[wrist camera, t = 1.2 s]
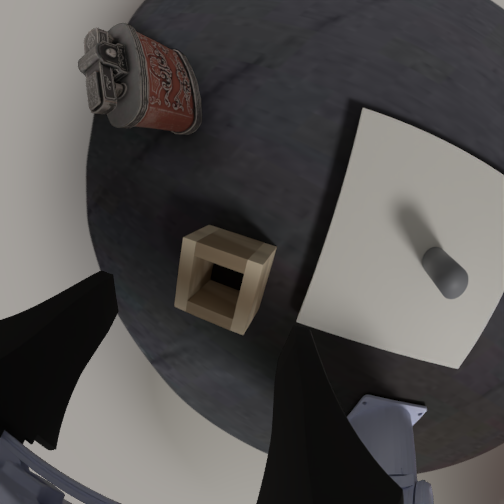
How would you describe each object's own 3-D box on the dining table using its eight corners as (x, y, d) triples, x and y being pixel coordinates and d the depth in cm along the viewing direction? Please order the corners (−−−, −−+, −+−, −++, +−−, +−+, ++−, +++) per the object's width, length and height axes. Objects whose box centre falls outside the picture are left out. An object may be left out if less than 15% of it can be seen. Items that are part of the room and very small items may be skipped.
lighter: (154, 63, 18) (68, 34, 9) (187, 45, 17) (104, 1, 8) (173, 141, 20) (75, 137, 11) (209, 125, 19) (116, 105, 10)
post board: (454, 361, 18) (469, 398, 14) (298, 314, 21) (286, 353, 17) (528, 196, 12) (565, 207, 8) (361, 111, 16) (369, 91, 11)
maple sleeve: (258, 309, 22) (243, 335, 19) (198, 285, 23) (174, 306, 20) (276, 246, 20) (263, 265, 17) (209, 224, 21) (183, 237, 18)
